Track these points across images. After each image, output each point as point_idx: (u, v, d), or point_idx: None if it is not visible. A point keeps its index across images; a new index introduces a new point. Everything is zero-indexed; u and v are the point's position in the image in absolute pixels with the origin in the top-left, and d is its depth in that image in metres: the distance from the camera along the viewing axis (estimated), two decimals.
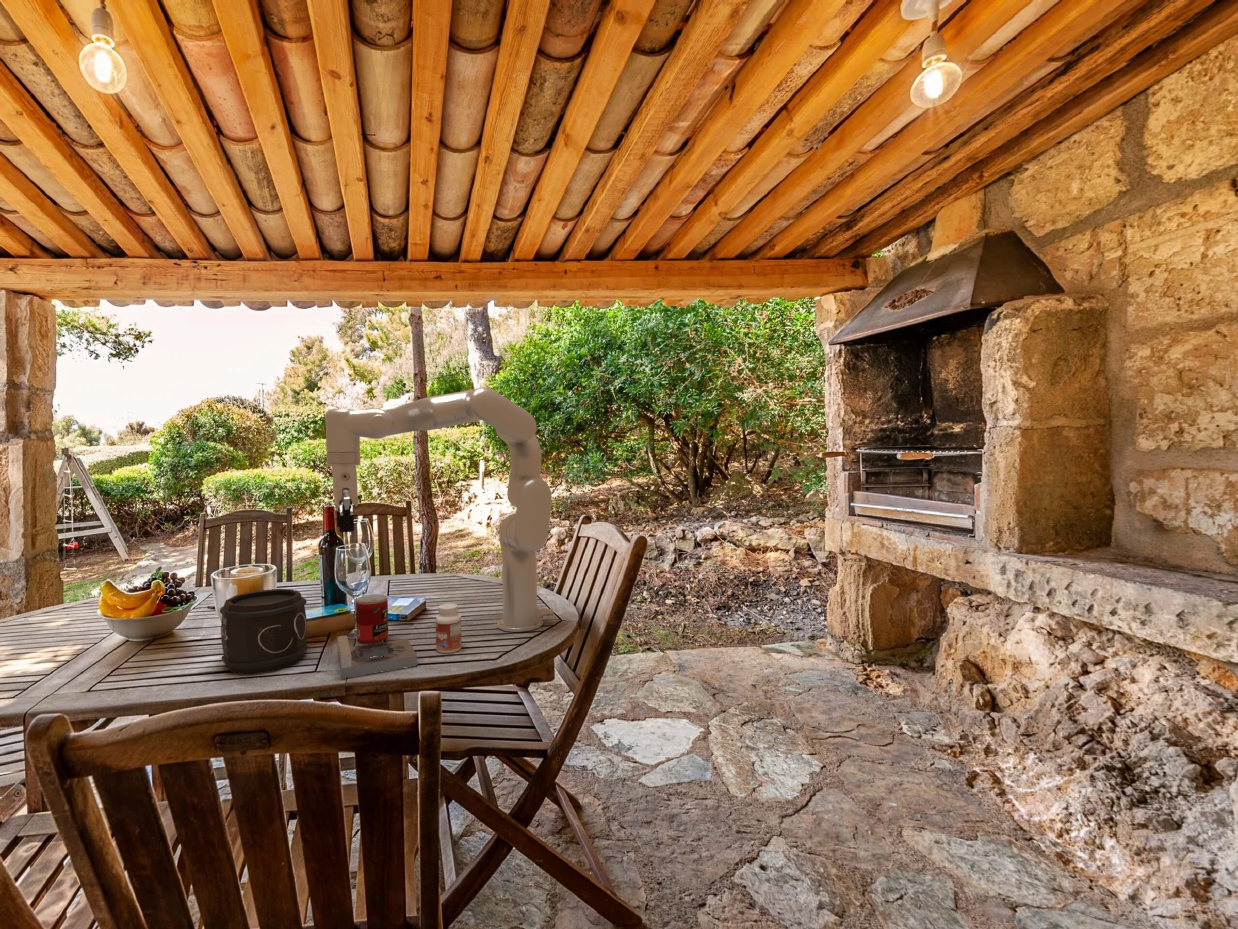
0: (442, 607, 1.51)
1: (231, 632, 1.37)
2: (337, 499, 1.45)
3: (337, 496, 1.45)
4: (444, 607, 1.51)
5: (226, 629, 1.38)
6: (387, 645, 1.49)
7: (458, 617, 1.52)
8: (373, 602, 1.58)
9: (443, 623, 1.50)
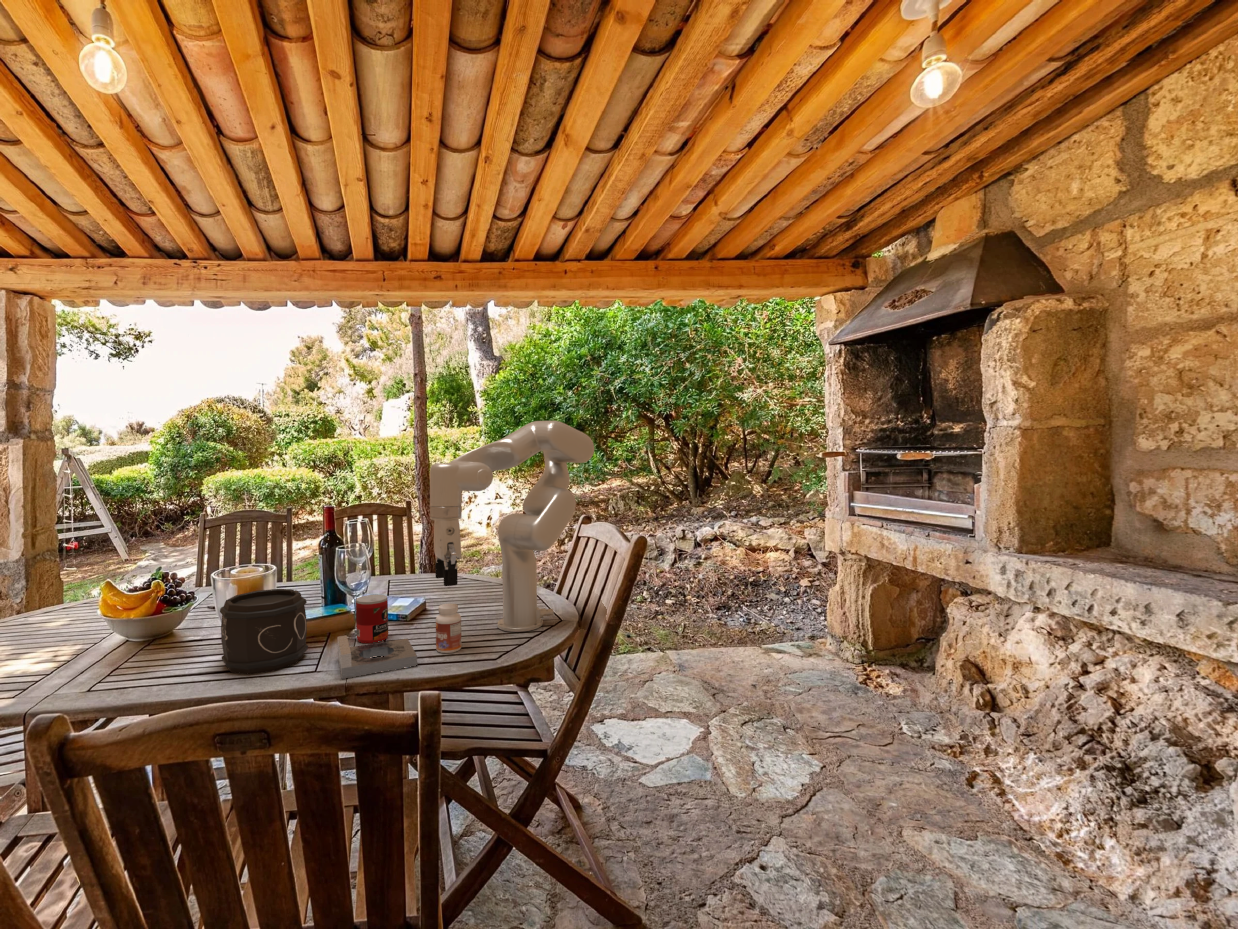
0: (442, 607, 1.51)
1: (231, 632, 1.37)
2: (442, 553, 1.47)
3: (442, 550, 1.47)
4: (444, 607, 1.51)
5: (226, 629, 1.38)
6: (387, 645, 1.49)
7: (458, 617, 1.52)
8: (373, 602, 1.58)
9: (443, 623, 1.50)
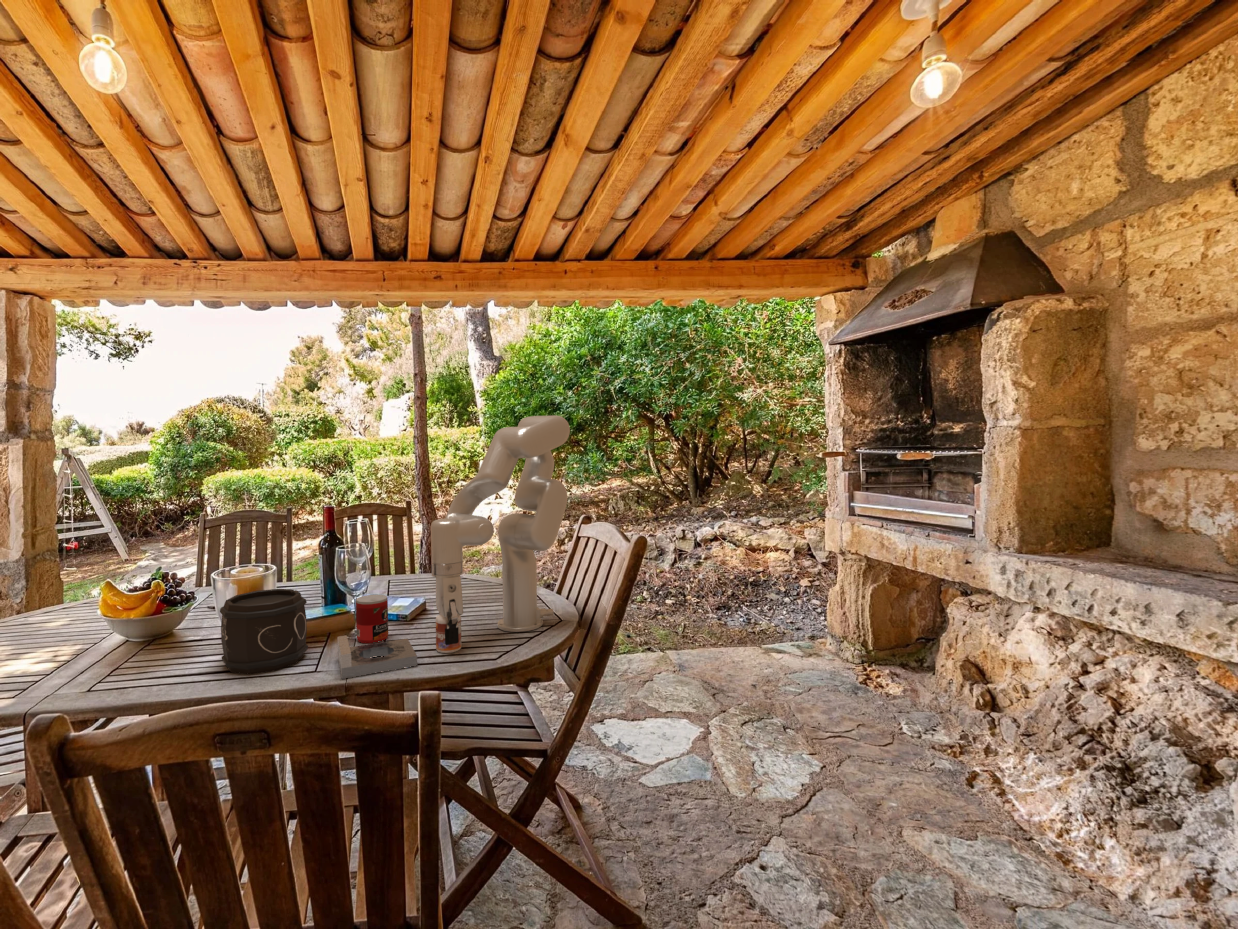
0: None
1: (231, 632, 1.37)
2: (444, 611, 1.48)
3: (444, 608, 1.48)
4: None
5: (226, 629, 1.38)
6: (387, 645, 1.49)
7: (458, 617, 1.52)
8: (373, 602, 1.58)
9: (443, 623, 1.50)
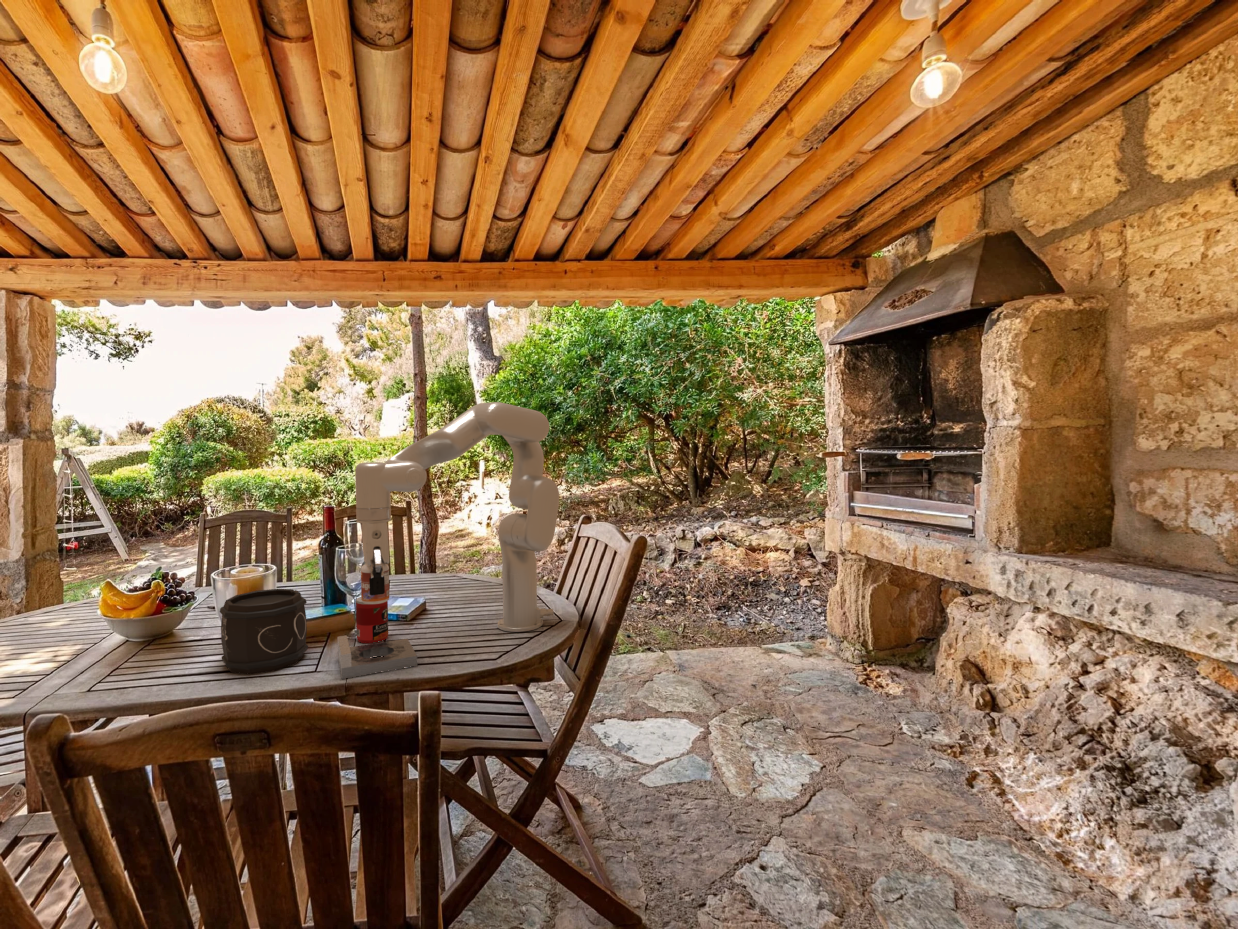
0: None
1: (231, 632, 1.37)
2: (368, 558, 1.38)
3: (368, 555, 1.38)
4: None
5: (226, 629, 1.38)
6: (387, 645, 1.49)
7: (385, 566, 1.43)
8: None
9: (368, 572, 1.40)
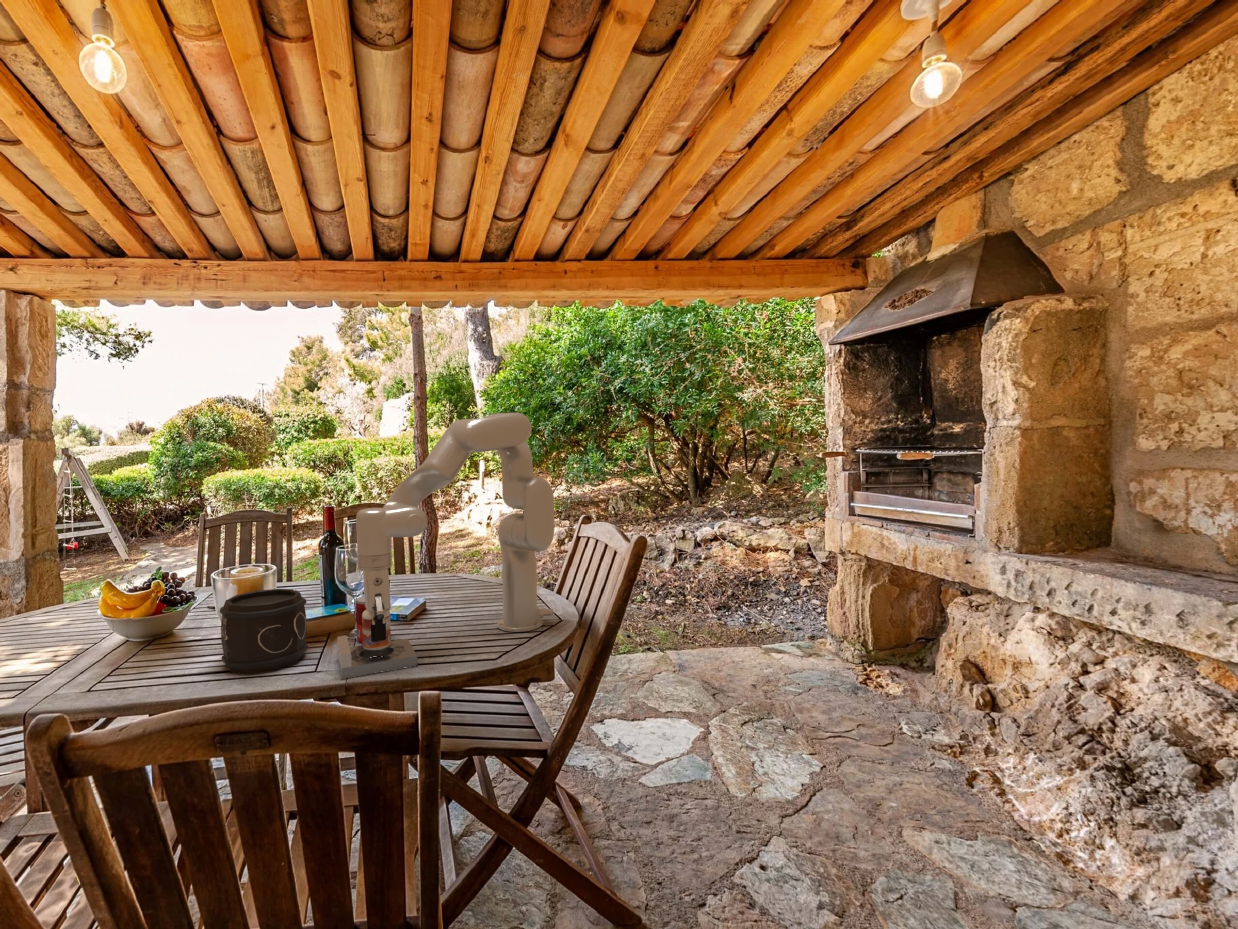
0: None
1: (231, 632, 1.37)
2: (369, 605, 1.39)
3: (369, 602, 1.39)
4: None
5: (226, 629, 1.38)
6: None
7: (386, 612, 1.43)
8: None
9: (369, 618, 1.41)
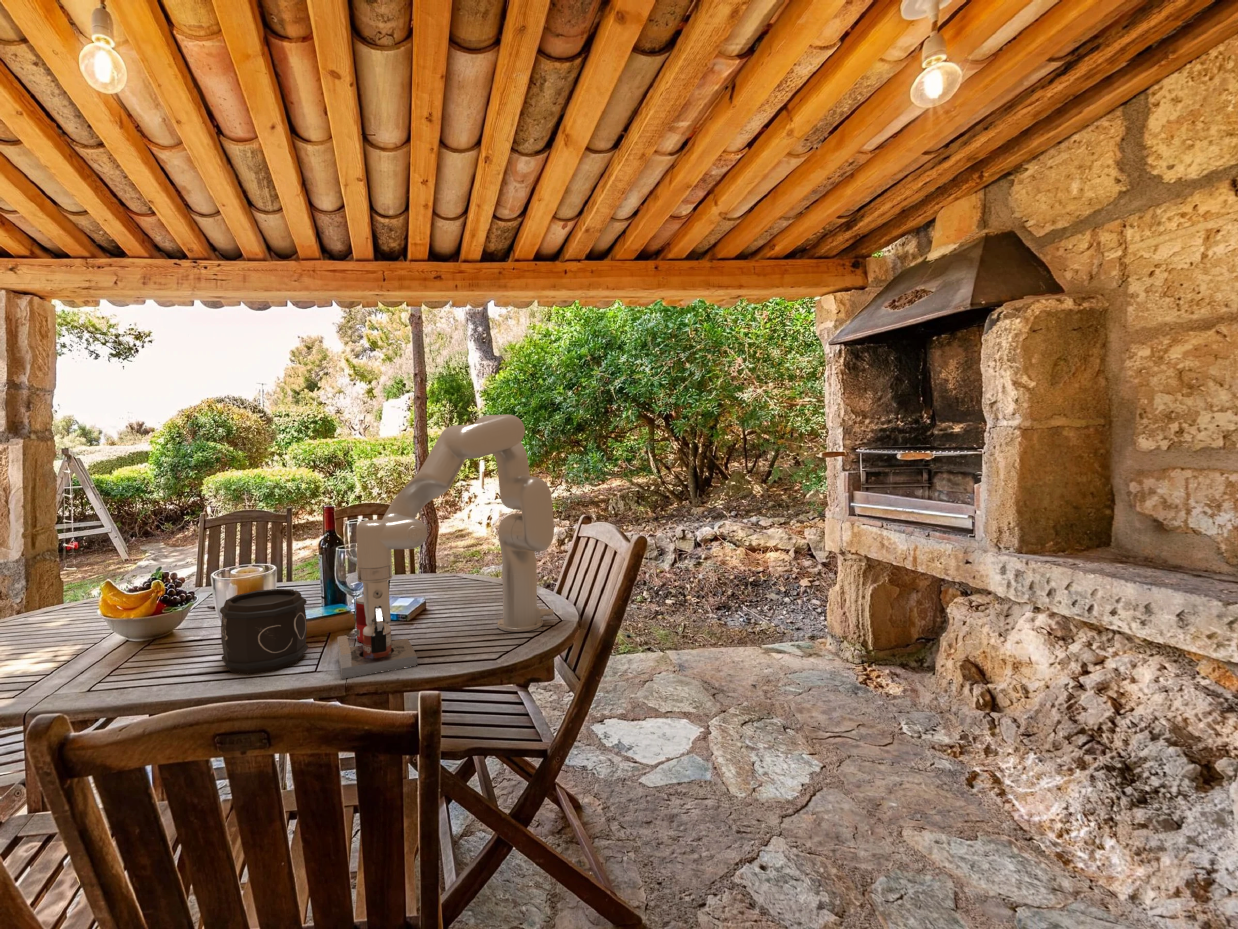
0: None
1: (231, 632, 1.37)
2: (369, 618, 1.39)
3: (369, 615, 1.39)
4: None
5: (226, 629, 1.38)
6: None
7: (387, 628, 1.43)
8: None
9: (370, 635, 1.41)
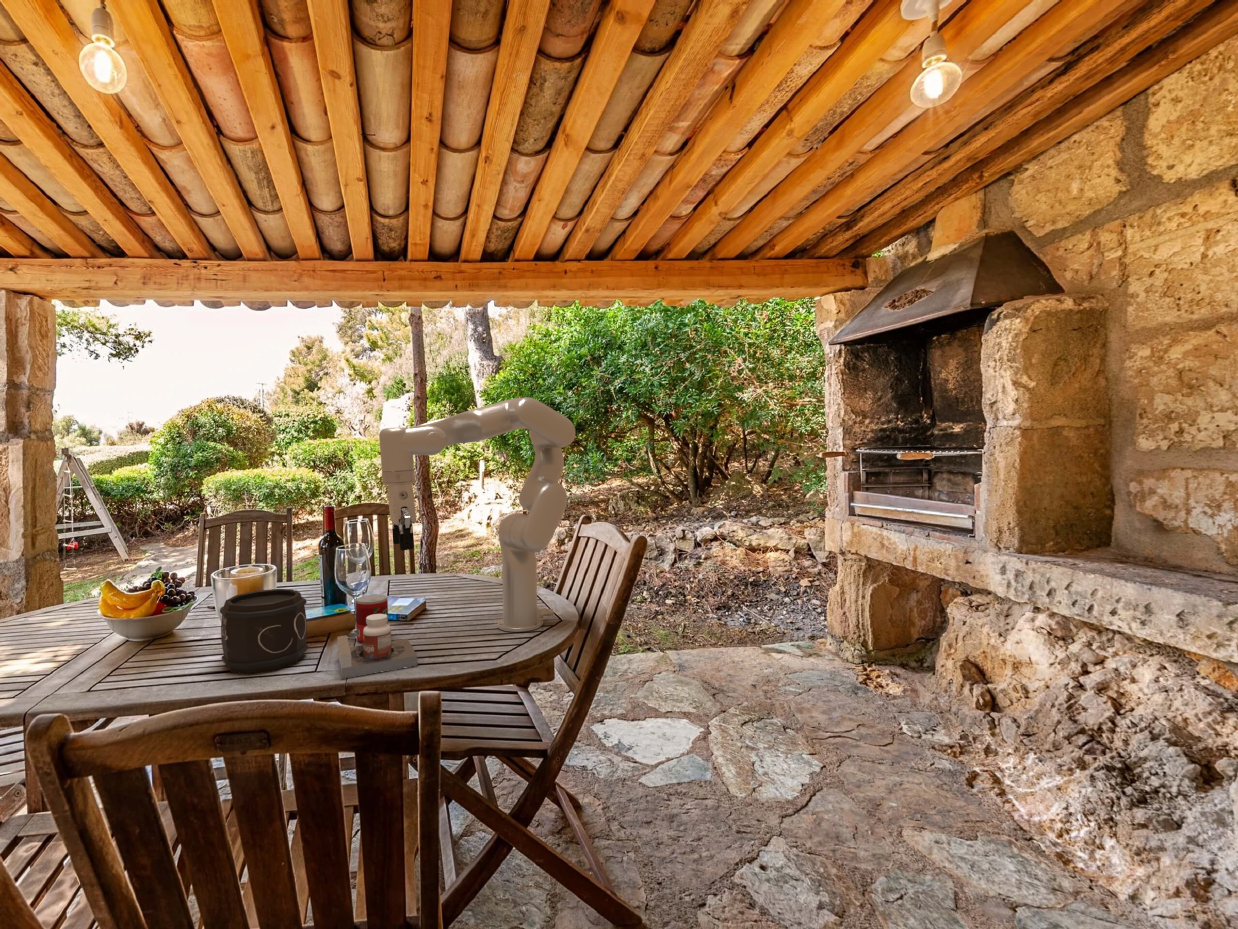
0: (370, 618, 1.43)
1: (231, 632, 1.37)
2: (396, 518, 1.46)
3: (396, 515, 1.46)
4: (372, 618, 1.43)
5: (226, 629, 1.38)
6: None
7: (387, 628, 1.43)
8: (373, 602, 1.58)
9: (370, 635, 1.41)
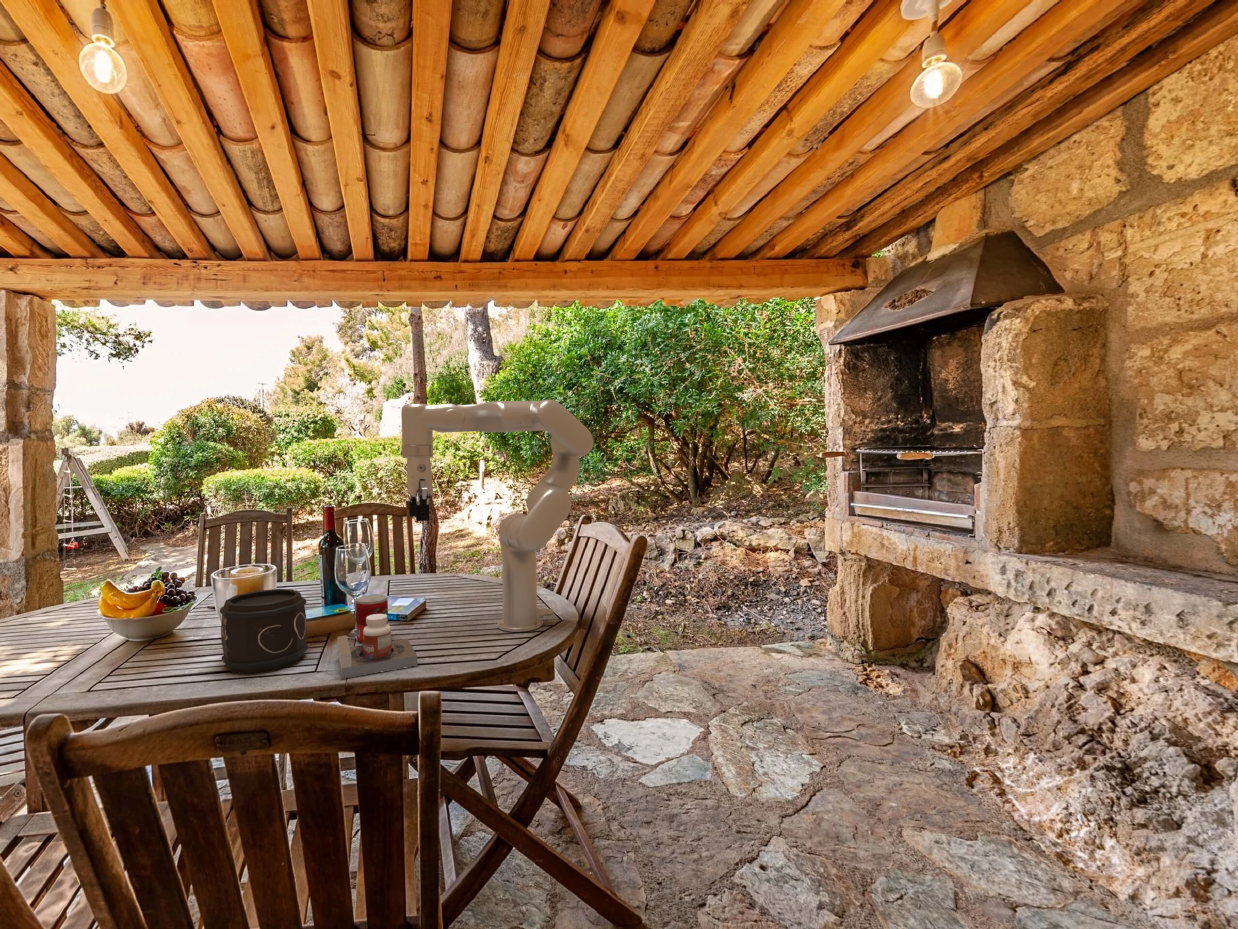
0: (369, 618, 1.43)
1: (231, 632, 1.37)
2: (414, 489, 1.52)
3: (414, 487, 1.52)
4: (372, 618, 1.43)
5: (226, 629, 1.38)
6: None
7: (387, 628, 1.43)
8: (373, 602, 1.58)
9: (370, 635, 1.41)
